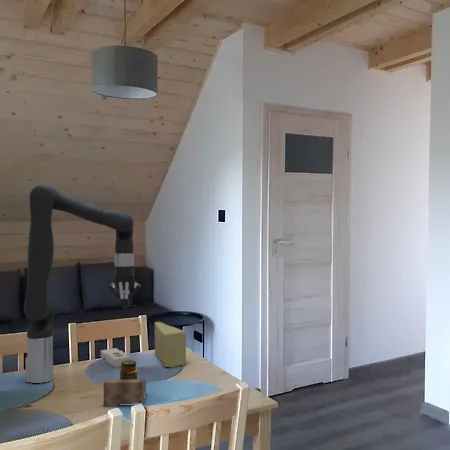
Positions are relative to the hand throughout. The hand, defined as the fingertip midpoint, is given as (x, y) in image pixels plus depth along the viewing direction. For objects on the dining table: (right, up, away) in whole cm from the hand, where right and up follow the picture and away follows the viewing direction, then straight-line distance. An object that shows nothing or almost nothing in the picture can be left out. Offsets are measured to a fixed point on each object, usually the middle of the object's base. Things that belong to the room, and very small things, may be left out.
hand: (124, 308), depth 201 cm
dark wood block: (+5, -28, -24) cm, 37 cm away
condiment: (+5, -28, -20) cm, 35 cm away
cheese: (+14, -26, +21) cm, 37 cm away
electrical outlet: (-8, -27, +20) cm, 35 cm away
